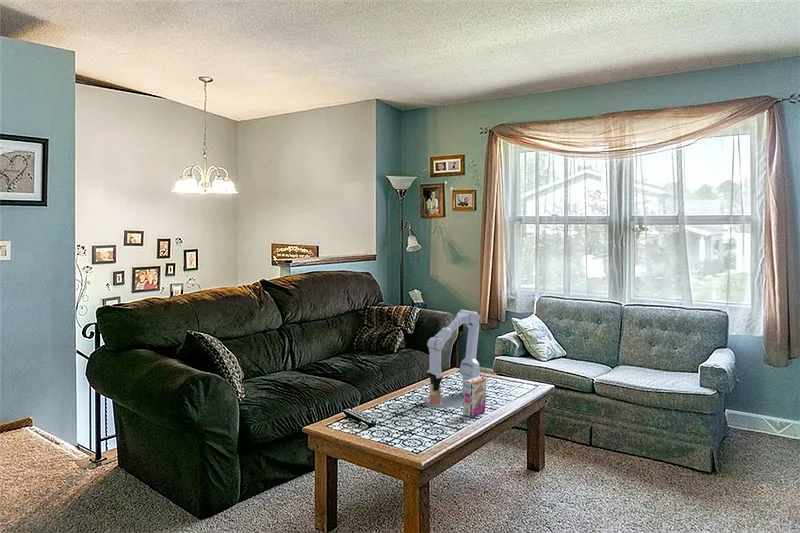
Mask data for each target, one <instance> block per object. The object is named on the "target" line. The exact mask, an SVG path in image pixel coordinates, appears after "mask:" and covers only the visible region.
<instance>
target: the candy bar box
mask: <svg viewBox="0 0 800 533" xmlns="http://www.w3.org/2000/svg"><path fill="white" fill-rule="evenodd" d="M486 389H487V378H485V377H481V376H478V377H476V378H472V379H469V380H465V381H464V396H463V400H464V403H463V408H462V409H463V410H462V415H463V416H466V417H468V418H473V417H476V416H478V415H480V414H483V413H486V397H487V394H486V393H487V390H486Z"/></svg>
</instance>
